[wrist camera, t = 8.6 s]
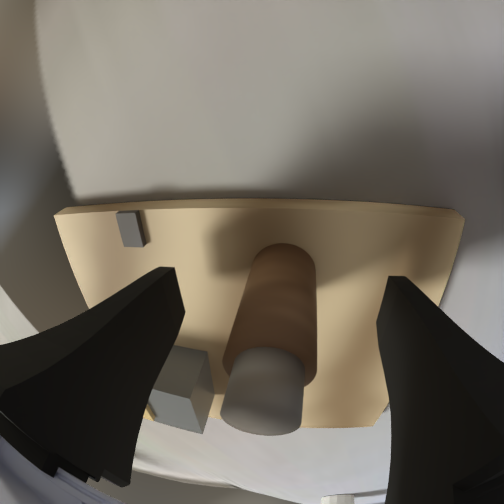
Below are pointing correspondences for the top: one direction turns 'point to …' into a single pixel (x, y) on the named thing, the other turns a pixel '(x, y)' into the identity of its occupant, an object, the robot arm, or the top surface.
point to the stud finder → (182, 391)
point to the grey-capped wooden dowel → (272, 343)
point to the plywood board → (238, 268)
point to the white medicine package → (338, 499)
